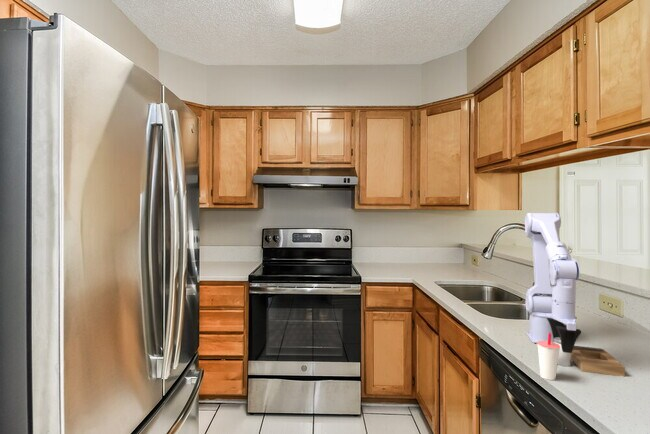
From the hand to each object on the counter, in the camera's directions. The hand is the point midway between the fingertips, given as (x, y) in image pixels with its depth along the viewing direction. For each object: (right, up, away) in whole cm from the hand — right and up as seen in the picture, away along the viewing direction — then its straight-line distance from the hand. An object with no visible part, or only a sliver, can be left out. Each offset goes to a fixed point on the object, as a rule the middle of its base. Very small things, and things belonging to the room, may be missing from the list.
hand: (562, 347), depth 104 cm
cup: (-10, -5, -8) cm, 14 cm away
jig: (+9, -5, 0) cm, 10 cm away
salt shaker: (0, -5, 0) cm, 5 cm away
